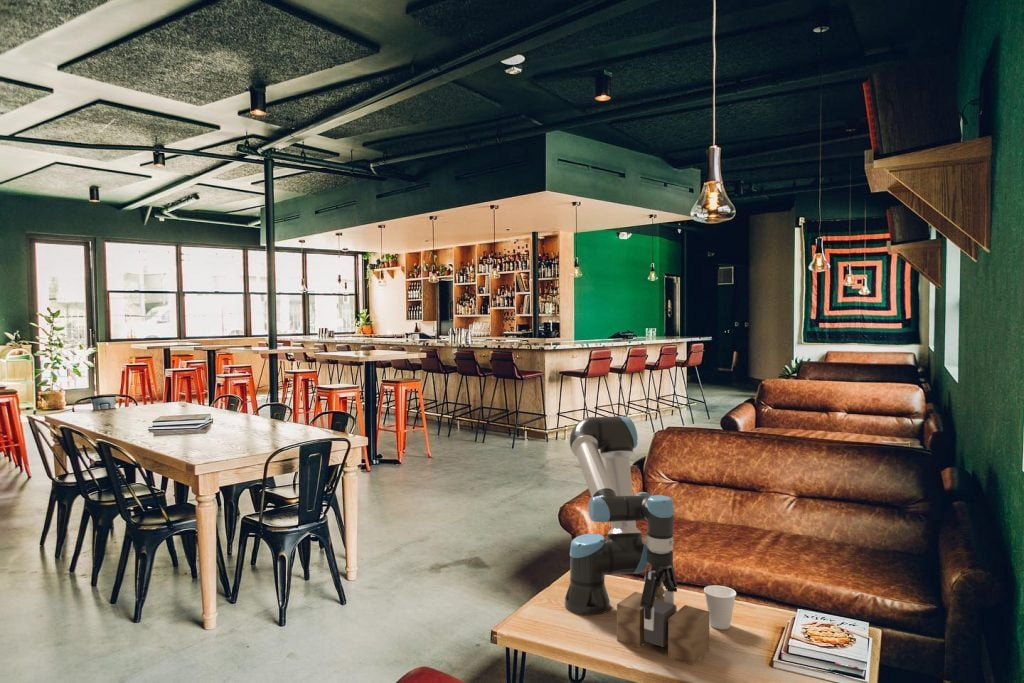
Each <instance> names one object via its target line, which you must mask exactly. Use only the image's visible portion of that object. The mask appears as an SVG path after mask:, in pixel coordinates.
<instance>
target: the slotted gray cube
mask: <svg viewBox="0 0 1024 683" xmlns="http://www.w3.org/2000/svg"><path fill="white" fill-rule="evenodd" d="M675 605H676V604H674V605H673V604H670V603H666V602H662V601H659V600H656V601H654V604H653V607H654V630H653V631H651V630H648V629H645V628H644V641H646V643H650V644H653V645H656V646H660V647H665V646H667V644H668V643H667V638H668V622H667V619H668V618H670V617H671V616H672V615H673V614H675V613H676V612H675Z"/></svg>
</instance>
